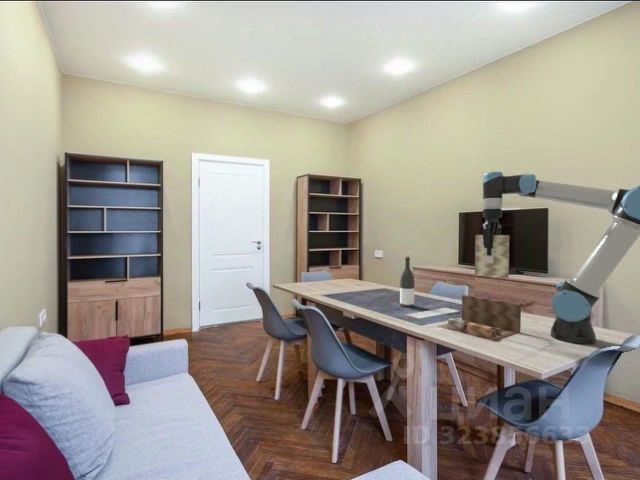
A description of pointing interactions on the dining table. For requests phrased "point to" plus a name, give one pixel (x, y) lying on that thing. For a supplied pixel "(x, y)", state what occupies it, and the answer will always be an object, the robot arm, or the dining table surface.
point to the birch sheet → (500, 257)
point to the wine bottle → (407, 286)
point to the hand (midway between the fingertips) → (491, 262)
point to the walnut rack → (490, 316)
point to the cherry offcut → (479, 330)
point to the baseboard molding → (432, 313)
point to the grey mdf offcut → (456, 324)
